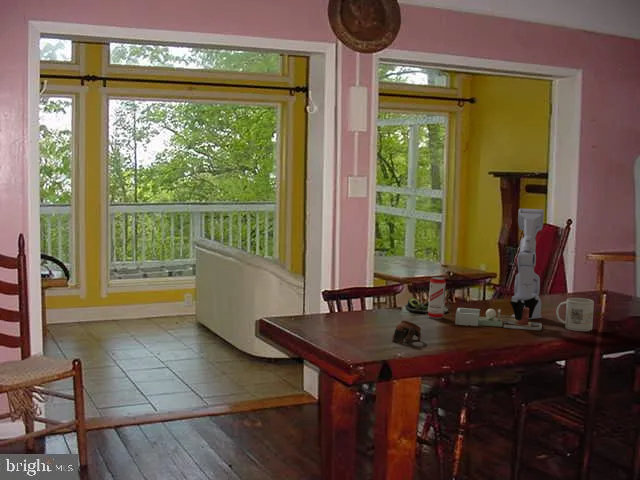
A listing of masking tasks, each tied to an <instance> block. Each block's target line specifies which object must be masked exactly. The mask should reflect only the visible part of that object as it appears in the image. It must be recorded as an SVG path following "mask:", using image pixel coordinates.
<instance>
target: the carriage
mask: <svg viewBox="0 0 640 480" xmlns="http://www.w3.org/2000/svg"><path fill="white" fill-rule="evenodd" d="M501 310H502V309H500V308H499V309H498V308H497V315H496V316H497V317H496V318H497V320H503V322H504V321H515V324H514V325H516V326H530V327H532V325H531V323H528V322H530V321H529V320H530V319H529V308H525V307H524V308H523V312H522V318H521V320H515V316H512V315H501Z"/></svg>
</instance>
